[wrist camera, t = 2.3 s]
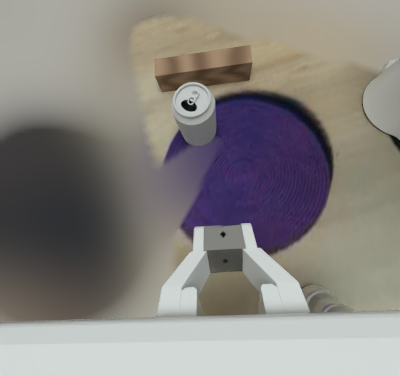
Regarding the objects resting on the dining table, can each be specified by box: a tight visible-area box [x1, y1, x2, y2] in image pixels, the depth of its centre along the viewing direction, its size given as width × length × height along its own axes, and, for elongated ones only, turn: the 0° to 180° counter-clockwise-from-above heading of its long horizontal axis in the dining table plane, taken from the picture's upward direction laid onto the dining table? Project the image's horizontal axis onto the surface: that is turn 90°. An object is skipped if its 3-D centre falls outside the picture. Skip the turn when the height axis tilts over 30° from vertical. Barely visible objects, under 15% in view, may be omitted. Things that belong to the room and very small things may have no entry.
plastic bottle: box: [301, 285, 354, 313], centre depth 26 cm, size 6×7×20 cm
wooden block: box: [155, 45, 252, 92], centre depth 43 cm, size 20×4×5 cm, turn 94°
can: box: [171, 82, 216, 146], centre depth 37 cm, size 8×8×12 cm
